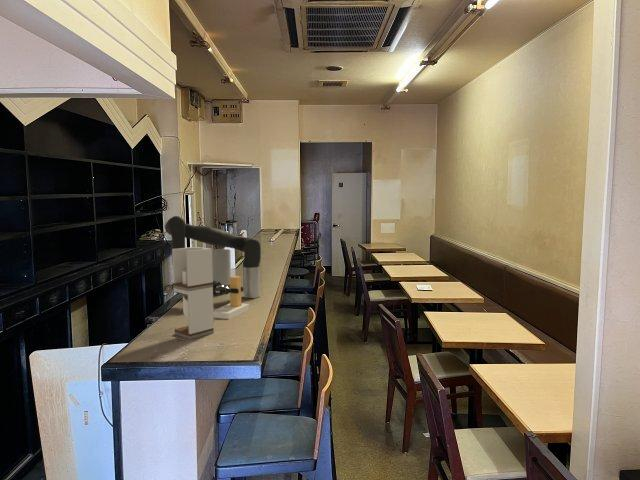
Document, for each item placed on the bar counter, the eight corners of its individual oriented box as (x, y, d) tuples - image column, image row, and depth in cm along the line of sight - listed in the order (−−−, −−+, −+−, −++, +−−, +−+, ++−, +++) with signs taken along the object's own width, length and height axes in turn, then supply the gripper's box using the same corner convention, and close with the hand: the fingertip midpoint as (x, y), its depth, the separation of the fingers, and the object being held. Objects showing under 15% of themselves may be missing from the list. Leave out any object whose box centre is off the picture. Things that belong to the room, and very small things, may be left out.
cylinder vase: (215, 295, 260) (215, 252, 258) (205, 292, 270) (204, 250, 267) (235, 292, 268) (234, 250, 266) (224, 289, 278) (223, 248, 276)
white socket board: (231, 308, 230) (231, 302, 229) (249, 309, 227) (249, 304, 226) (209, 318, 211) (209, 311, 210) (229, 320, 208) (228, 313, 207)
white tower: (198, 328, 195) (196, 246, 191) (213, 332, 188) (212, 248, 185) (174, 334, 186) (172, 249, 183) (190, 339, 179) (187, 251, 176)
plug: (234, 305, 226) (233, 275, 224) (241, 306, 225) (240, 276, 223) (230, 307, 222) (229, 277, 221) (237, 308, 221) (236, 277, 219)
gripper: (201, 283, 220) (233, 285, 214) (217, 278, 233) (247, 280, 228) (202, 298, 221) (233, 300, 215) (217, 292, 234) (247, 294, 229)
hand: (240, 290), depth 222 cm, fingers closed on plug, 4 cm apart
